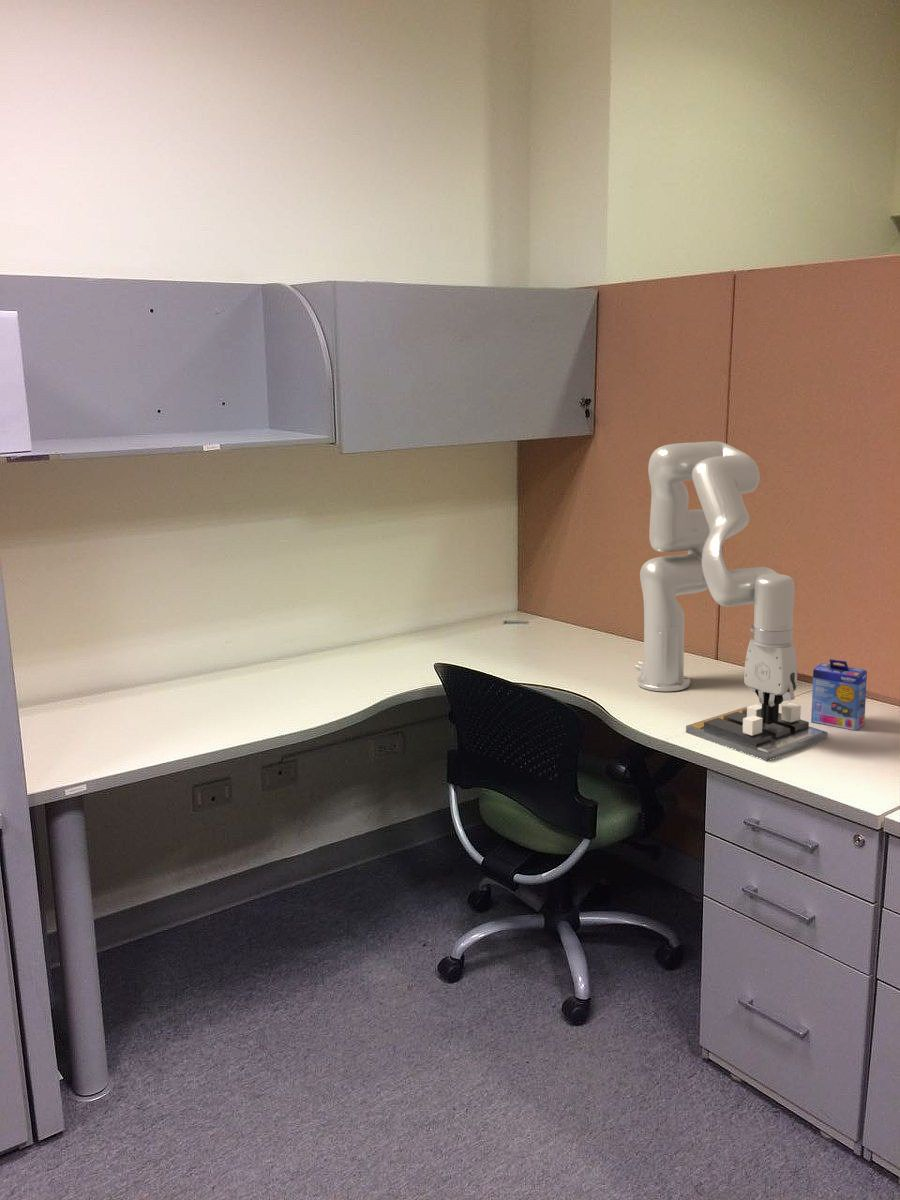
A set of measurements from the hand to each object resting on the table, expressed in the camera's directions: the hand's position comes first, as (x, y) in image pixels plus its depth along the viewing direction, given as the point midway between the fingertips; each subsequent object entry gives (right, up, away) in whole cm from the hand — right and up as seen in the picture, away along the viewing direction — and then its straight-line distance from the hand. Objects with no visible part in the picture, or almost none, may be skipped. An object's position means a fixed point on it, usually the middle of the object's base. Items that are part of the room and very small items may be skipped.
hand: (769, 722), depth 207 cm
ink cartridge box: (+17, -2, +9) cm, 20 cm away
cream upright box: (-5, -2, -4) cm, 6 cm away
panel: (-2, -3, +4) cm, 5 cm away
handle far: (+5, 0, +3) cm, 6 cm away
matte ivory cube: (-2, 0, +3) cm, 3 cm away
